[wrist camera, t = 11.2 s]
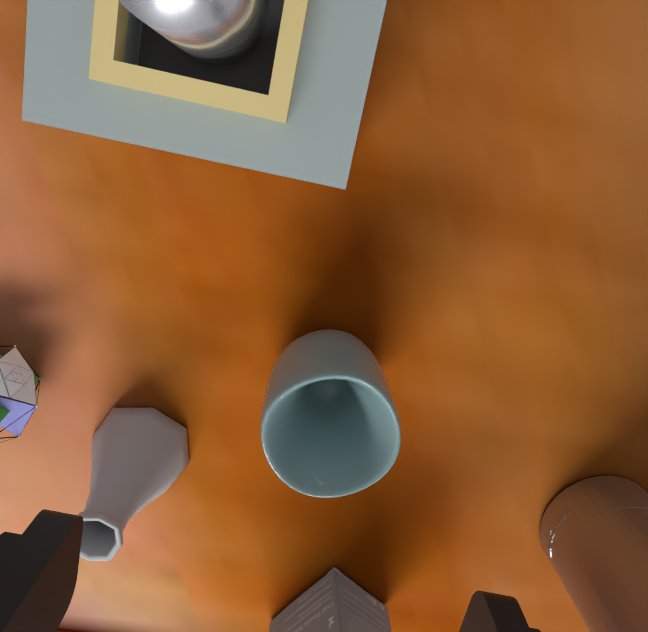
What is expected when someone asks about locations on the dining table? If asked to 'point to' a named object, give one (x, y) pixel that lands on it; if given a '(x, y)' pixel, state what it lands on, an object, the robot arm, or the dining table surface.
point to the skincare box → (333, 609)
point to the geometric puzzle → (16, 391)
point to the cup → (329, 416)
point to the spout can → (205, 26)
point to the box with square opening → (209, 84)
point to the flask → (128, 474)
